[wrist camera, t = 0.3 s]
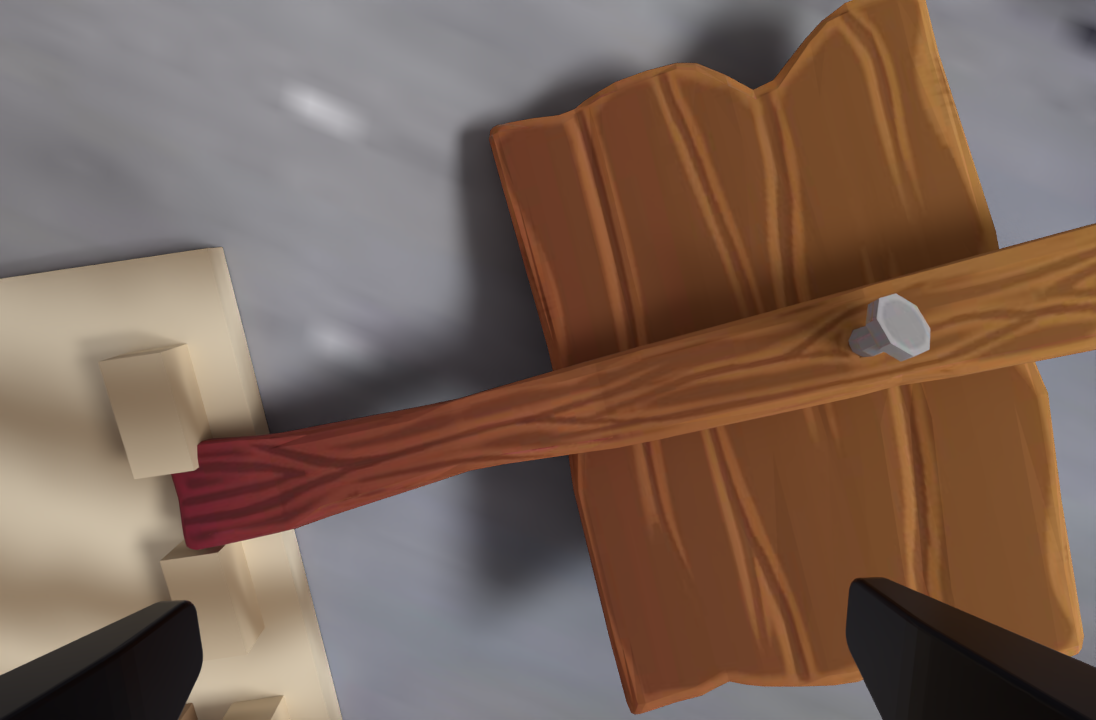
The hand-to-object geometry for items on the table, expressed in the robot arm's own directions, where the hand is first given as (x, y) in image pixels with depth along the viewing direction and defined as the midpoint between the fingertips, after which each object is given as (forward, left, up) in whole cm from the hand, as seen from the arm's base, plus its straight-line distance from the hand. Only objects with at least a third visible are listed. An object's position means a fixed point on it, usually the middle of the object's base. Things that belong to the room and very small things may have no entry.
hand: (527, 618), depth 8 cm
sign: (-1, -2, -13) cm, 13 cm away
